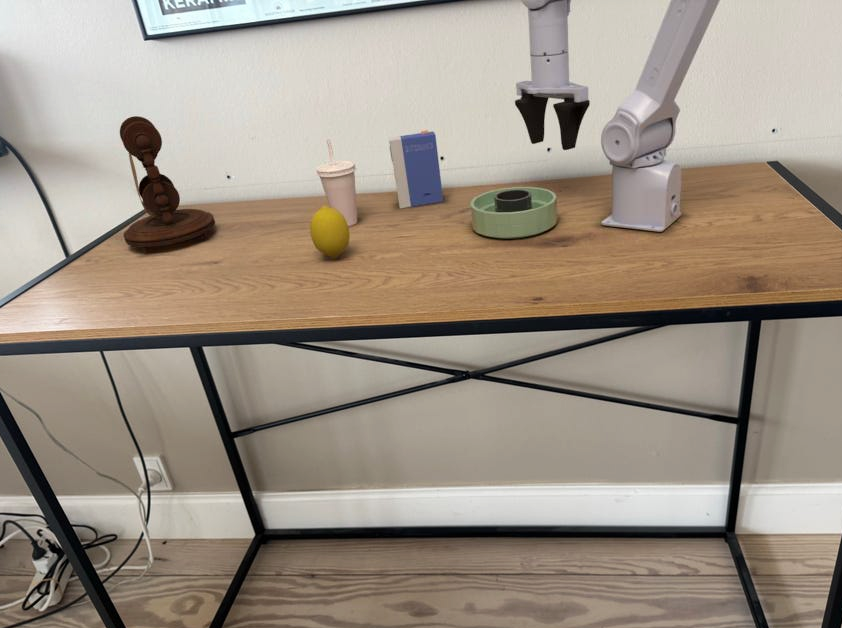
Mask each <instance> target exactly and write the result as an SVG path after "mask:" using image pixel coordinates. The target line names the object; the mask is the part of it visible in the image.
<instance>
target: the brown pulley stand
mask: <svg viewBox="0 0 842 628" xmlns="http://www.w3.org/2000/svg"><path fill="white" fill-rule="evenodd" d="M119 137H120V140H121V141H122V144H123V147H124V149H125V150H126V151H127V153H128V158H129V163H130V169H131V174H132V177H133V181H134V185H135V189H136V192H137V195H138V197H139V200H140V203H141V205H142V207H143V209H144V211H145V212H146V213H147V215H149V216H146V217H143V218H141V219H139V220H137V221H135V222H134V223H132V224H131V225H130V226H129V227H128V228H127V229H126V230H125V231H124V233H122V234H123V238H124V241H125V244H126V245H128V246H131V247H135V248H141V250H142V251H143V252H144V253H145V254H146V255H149V254H150V248H151V247H160V246H166V245H167V246H168V245H172V244H176V243H181V242H185V241H187V240H191V239H194V238H196V237H199V236H200V237H201V238H202V239H203V240H204V241H207V240H208V231H209V232H210V230H212V229H213V228H214V227H215V225H216V220H215V216H214V214H213V213H211V212H209V211H205V210H202V209H197V208H181V209H180V208H179V205H180V201H181V198H180V193H179V191H178V189H177V188H176V186H175V184H174V183H173V181H172V180H171V179H170V178H169V177H168V176H167V175H165V174H163V173H160V170H159V167H158V166H157V165H155V163H156V161H155V160H156V159H157V157H158V155H159V153H160V151H161V150H162V145H163V140H162V136H161V134H160V132H159V130H158V129H157V127H156V126H155V125H154V124H153V122H151V120H149V119H147V118H145V117H143V116H138V115H135V116H130V117H127V118H126V119H125V120H123V122H122V123H121V125H120V126H119ZM133 157H135V158H136V159H137V160H138V161H139V162H140V163H141V164H142V168H144V171H146V175H145V176H143V177H142V179H141V180H140V181H138V176H137V175H138V174H137V169H136V167H135V162H134V159H133ZM178 208H179V209H178Z"/></svg>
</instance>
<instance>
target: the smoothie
mask: <svg viewBox="0 0 842 628" xmlns="http://www.w3.org/2000/svg"><path fill="white" fill-rule="evenodd" d="M326 143H327V149H328V152H329V158H330V162H327V163H324V164H321V165H319V166H317V167H316V169H315V170H316V175H317V176H318V177H319V179H320V182H321V185H322V188H323V191H324V193H325V197H326V200H327V204H328V207H329V208H333V209H336V210H338V211H339V212H340V213H341V214H342V215H343V216H344V218H345V220H346V222H347V225H348V227H351V226H353V225H356V224H357V223H358V210H357V193H356V192H357V190H356V175H355V174H356V173H355V171H356V170H357V168H356V163H355V162H354V161H351V160H338V161H335V157H334V153H333V147H332V141H331V138H328V139H326Z"/></svg>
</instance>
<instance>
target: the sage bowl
mask: <svg viewBox="0 0 842 628" xmlns="http://www.w3.org/2000/svg"><path fill="white" fill-rule="evenodd" d="M507 190H527V191H530V192H531V193H532V209H530V210H526V211H519V212H495V203H494V196H495V195H496V194H497V193H499V192H503V191H507ZM470 210H471V212H470V213H471V214H470V215H471V223H472V229H473V231H475V232H476V233H477V234H479V235H482V236H485V237H488V238H494V239H501V240H503V239H504V240H506V239H507V240H510V239H511V240H513V239H522V238H527V237H532V236H536V235H539V234H542V233H543V232H545V231H548V230H550V229H551V228H553V227H555V225H556V224H557V223H558V197H557V195H556V192H554V191H552V190H549V189H546V188H543V187H535V186H512V187H503V188H499V189H493V190H489V191H487V192H483V193H481V194H479V195H477V196H475V197H474V198H473V199H472V200H471V201H470Z"/></svg>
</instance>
